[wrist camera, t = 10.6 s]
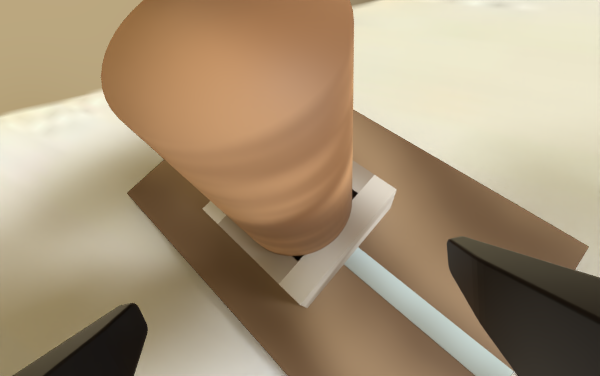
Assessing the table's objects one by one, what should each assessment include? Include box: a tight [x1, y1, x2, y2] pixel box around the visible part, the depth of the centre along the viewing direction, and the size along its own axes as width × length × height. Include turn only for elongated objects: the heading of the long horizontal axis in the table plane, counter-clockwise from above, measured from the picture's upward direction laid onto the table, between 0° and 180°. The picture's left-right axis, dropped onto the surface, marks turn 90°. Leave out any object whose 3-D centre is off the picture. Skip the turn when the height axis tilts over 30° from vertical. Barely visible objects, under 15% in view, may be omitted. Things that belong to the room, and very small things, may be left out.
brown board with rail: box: [127, 110, 589, 376], centre depth 16 cm, size 14×22×3 cm, turn 47°
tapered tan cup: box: [101, 0, 354, 256], centre depth 12 cm, size 6×6×12 cm
